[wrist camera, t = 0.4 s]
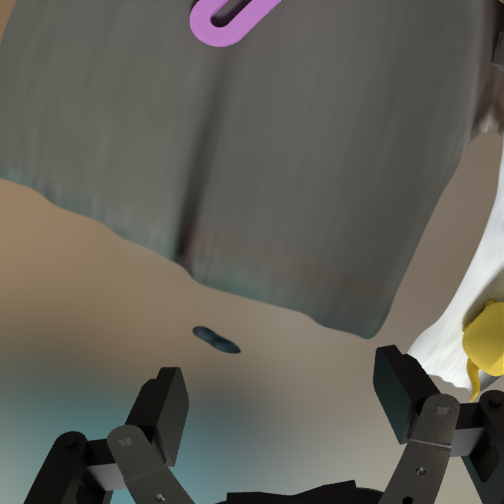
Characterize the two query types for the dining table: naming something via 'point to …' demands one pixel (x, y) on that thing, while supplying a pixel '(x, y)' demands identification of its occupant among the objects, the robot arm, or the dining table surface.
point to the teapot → (485, 344)
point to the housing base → (499, 53)
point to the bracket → (235, 29)
